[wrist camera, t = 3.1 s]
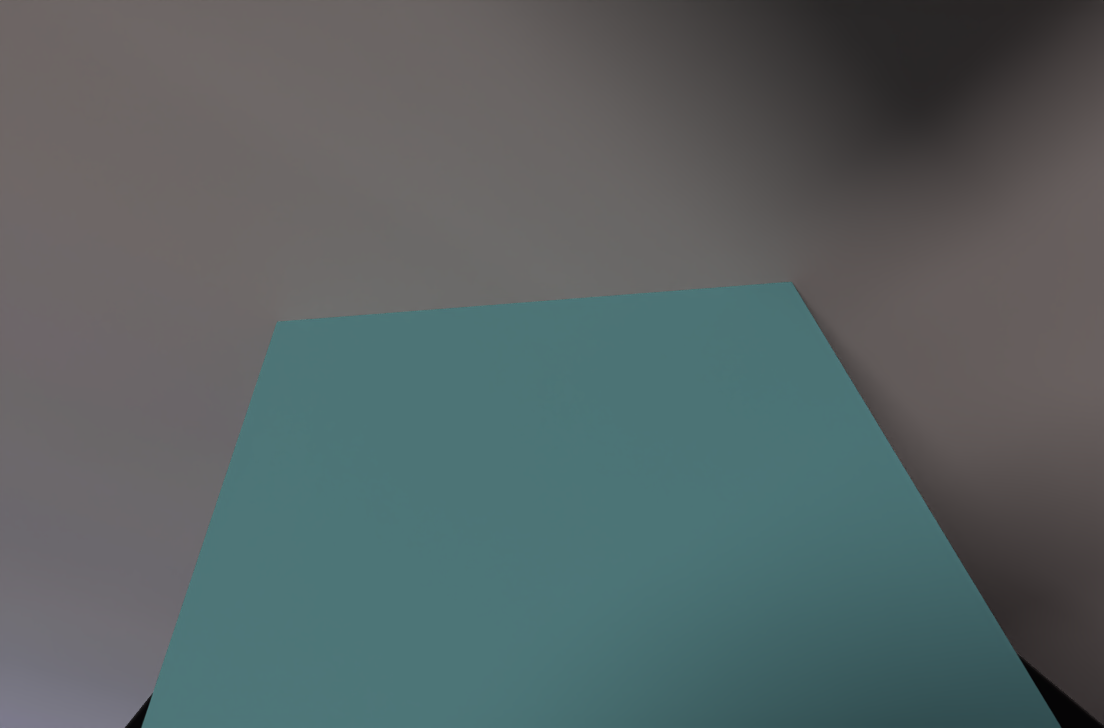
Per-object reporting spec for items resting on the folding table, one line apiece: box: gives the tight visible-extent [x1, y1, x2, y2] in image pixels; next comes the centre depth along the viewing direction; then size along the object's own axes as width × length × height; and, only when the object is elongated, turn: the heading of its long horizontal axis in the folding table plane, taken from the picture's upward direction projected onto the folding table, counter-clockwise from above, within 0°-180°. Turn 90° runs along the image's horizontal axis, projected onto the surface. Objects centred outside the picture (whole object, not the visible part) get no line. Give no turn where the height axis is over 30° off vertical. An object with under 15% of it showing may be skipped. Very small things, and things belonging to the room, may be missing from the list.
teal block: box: [142, 282, 1061, 728], centre depth 8 cm, size 5×5×5 cm
